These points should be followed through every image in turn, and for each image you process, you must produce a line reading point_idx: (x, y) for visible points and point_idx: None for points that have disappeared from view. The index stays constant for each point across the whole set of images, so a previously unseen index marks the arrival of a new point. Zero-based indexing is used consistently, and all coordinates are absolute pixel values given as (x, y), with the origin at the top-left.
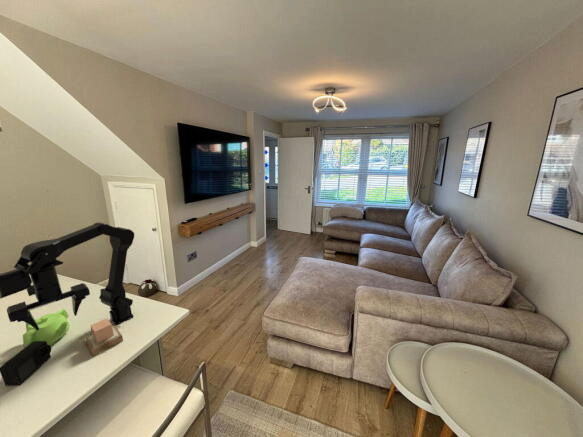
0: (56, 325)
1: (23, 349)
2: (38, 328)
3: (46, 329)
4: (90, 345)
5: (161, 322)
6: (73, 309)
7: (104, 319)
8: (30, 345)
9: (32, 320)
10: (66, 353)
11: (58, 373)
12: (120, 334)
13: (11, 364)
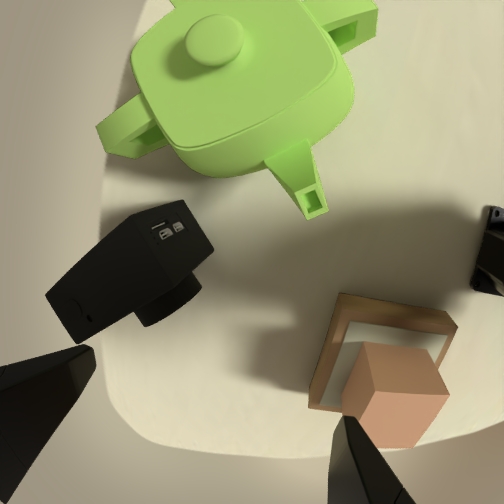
0: (269, 144)
1: (94, 254)
2: (85, 383)
3: (201, 160)
4: (321, 381)
5: (497, 403)
6: (342, 482)
7: (438, 396)
8: (116, 249)
9: (21, 470)
10: (260, 285)
11: (206, 362)
12: None
13: (68, 320)
